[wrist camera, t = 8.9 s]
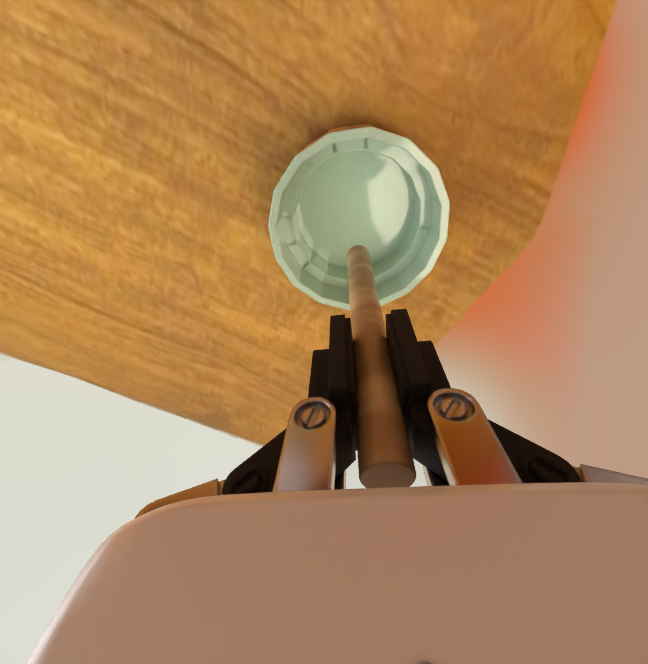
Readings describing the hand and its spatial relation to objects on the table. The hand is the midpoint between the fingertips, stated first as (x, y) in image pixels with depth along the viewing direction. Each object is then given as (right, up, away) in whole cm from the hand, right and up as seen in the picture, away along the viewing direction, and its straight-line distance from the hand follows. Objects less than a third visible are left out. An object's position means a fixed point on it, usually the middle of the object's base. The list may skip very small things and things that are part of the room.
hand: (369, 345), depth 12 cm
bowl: (+1, +11, +16) cm, 20 cm away
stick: (0, +5, +8) cm, 10 cm away
